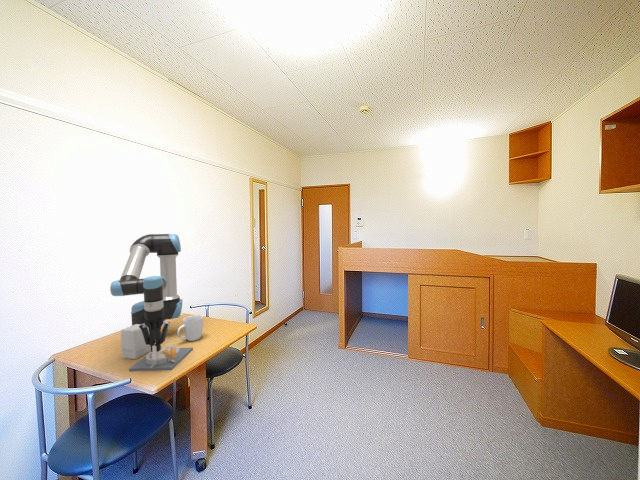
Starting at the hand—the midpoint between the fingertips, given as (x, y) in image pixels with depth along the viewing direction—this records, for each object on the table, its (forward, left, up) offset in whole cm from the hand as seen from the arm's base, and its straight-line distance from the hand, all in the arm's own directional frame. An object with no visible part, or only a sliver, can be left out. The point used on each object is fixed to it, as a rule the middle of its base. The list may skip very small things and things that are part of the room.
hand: (156, 357), depth 116 cm
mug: (-32, +1, -6) cm, 32 cm away
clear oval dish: (-7, +1, -4) cm, 8 cm away
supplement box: (-15, -20, -6) cm, 25 cm away
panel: (-9, -2, -5) cm, 10 cm away
